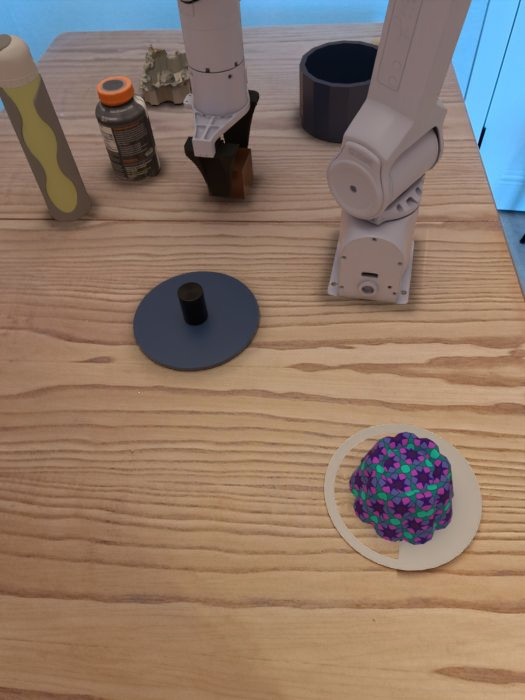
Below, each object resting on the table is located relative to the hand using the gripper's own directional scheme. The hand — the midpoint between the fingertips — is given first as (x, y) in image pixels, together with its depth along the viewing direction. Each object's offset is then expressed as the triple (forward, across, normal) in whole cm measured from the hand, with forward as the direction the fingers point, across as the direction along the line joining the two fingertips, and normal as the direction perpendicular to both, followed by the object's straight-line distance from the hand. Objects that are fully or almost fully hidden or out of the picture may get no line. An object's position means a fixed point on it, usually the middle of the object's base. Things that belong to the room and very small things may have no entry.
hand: (229, 174), depth 68 cm
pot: (+2, -17, +11) cm, 20 cm away
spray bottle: (+2, +7, -18) cm, 19 cm away
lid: (+2, +21, +2) cm, 21 cm away
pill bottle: (+2, -2, -13) cm, 13 cm away
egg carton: (+2, -22, -15) cm, 27 cm away
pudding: (+2, +35, +23) cm, 42 cm away
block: (+2, 0, 0) cm, 2 cm away
